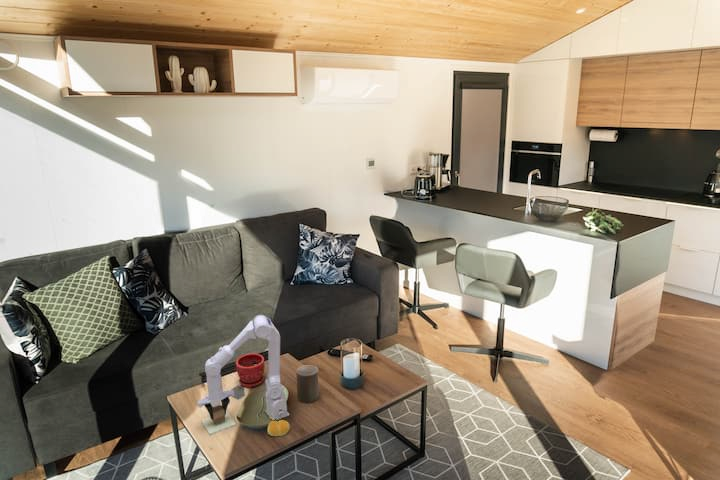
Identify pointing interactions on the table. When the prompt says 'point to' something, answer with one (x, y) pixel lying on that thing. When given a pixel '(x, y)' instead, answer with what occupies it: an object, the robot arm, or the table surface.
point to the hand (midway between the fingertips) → (218, 416)
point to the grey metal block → (238, 392)
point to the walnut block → (218, 414)
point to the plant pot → (250, 370)
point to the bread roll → (278, 428)
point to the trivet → (218, 424)
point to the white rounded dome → (215, 403)
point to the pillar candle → (307, 384)
